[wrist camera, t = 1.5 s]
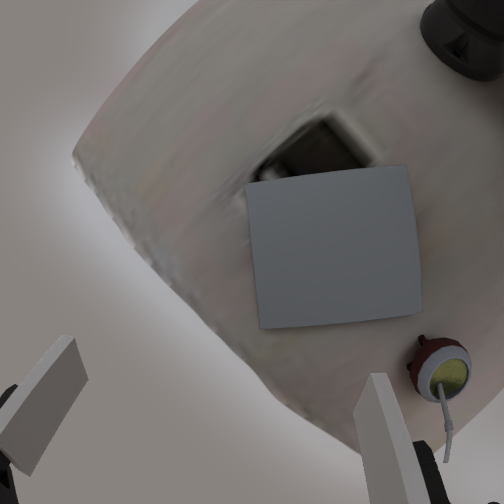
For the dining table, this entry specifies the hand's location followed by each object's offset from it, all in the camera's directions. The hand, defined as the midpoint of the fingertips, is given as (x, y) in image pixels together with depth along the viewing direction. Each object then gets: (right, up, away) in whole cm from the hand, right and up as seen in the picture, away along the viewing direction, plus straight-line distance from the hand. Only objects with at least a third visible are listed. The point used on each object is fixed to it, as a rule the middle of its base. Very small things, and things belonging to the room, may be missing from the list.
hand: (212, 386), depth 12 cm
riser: (+11, +6, +22) cm, 25 cm away
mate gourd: (+23, -8, +19) cm, 31 cm away
